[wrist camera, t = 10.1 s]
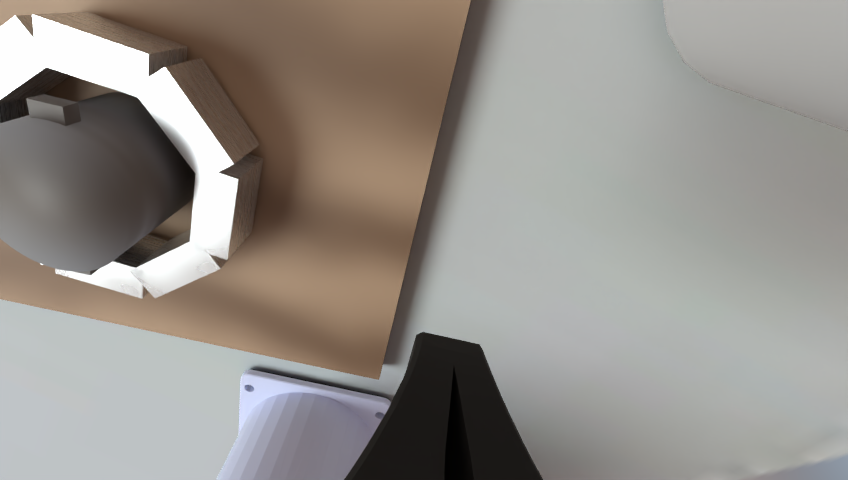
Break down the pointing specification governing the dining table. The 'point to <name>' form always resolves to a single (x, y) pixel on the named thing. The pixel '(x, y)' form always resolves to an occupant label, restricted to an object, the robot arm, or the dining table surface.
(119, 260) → the collar
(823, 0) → the can
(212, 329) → the board
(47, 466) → the dining table surface
